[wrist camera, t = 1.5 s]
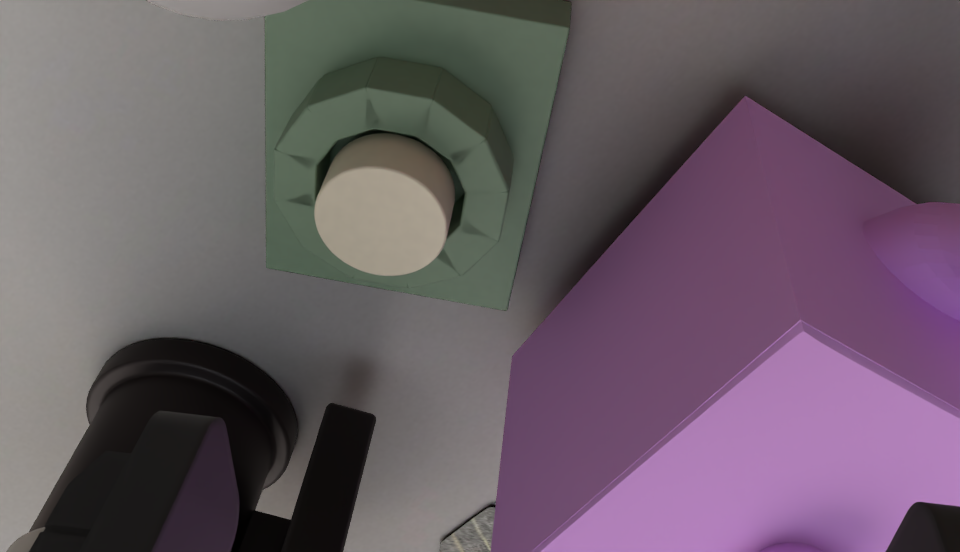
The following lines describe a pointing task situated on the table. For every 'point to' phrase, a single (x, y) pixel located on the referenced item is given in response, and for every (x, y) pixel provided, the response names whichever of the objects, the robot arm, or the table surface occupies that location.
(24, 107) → the table surface
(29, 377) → the table surface
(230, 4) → the lightbulb
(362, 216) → the button
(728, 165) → the teapot
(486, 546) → the sculpture
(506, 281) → the block
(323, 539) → the light fixture
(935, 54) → the table surface
